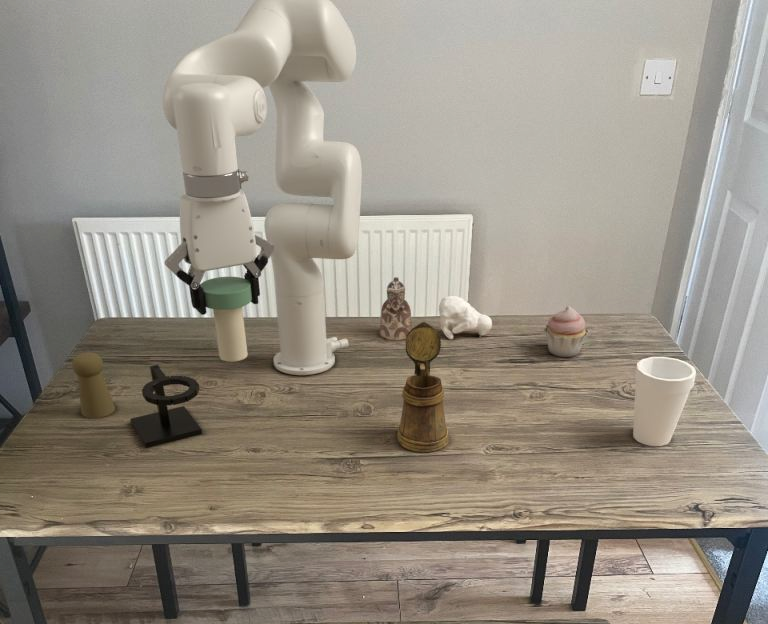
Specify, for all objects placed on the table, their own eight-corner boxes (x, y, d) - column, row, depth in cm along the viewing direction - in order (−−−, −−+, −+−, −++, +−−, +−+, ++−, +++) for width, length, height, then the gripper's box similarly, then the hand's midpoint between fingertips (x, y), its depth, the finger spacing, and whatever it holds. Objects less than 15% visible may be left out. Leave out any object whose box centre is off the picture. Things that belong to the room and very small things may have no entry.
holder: (184, 410, 149) (174, 350, 142) (218, 455, 136) (209, 391, 129) (131, 423, 145) (118, 362, 138) (160, 470, 132) (147, 405, 125)
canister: (247, 342, 130) (239, 273, 124) (265, 359, 125) (258, 288, 118) (202, 352, 127) (191, 282, 121) (219, 370, 122) (209, 297, 115)
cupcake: (552, 339, 175) (558, 294, 169) (592, 349, 170) (599, 303, 165) (533, 353, 169) (538, 308, 163) (574, 364, 164) (580, 317, 158)
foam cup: (649, 455, 135) (664, 385, 127) (612, 431, 141) (625, 363, 134) (691, 442, 138) (708, 373, 131) (653, 419, 145) (667, 352, 138)
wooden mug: (446, 414, 147) (450, 321, 137) (449, 452, 136) (454, 353, 125) (397, 414, 147) (397, 321, 137) (397, 452, 136) (397, 353, 126)
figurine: (377, 339, 176) (376, 285, 169) (382, 326, 181) (382, 274, 174) (409, 341, 175) (410, 287, 168) (413, 328, 180) (414, 275, 173)
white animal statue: (440, 290, 175) (495, 296, 175) (435, 327, 180) (488, 333, 180) (440, 301, 170) (496, 307, 170) (435, 338, 175) (490, 344, 175)
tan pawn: (105, 419, 146) (92, 363, 140) (75, 416, 147) (61, 361, 141) (120, 404, 151) (109, 349, 144) (91, 401, 152) (78, 347, 146)
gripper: (259, 171, 118) (270, 288, 128) (142, 186, 111) (163, 309, 121) (280, 182, 112) (289, 303, 122) (159, 198, 105) (179, 326, 115)
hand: (227, 305), depth 122 cm, fingers closed on canister, 7 cm apart
